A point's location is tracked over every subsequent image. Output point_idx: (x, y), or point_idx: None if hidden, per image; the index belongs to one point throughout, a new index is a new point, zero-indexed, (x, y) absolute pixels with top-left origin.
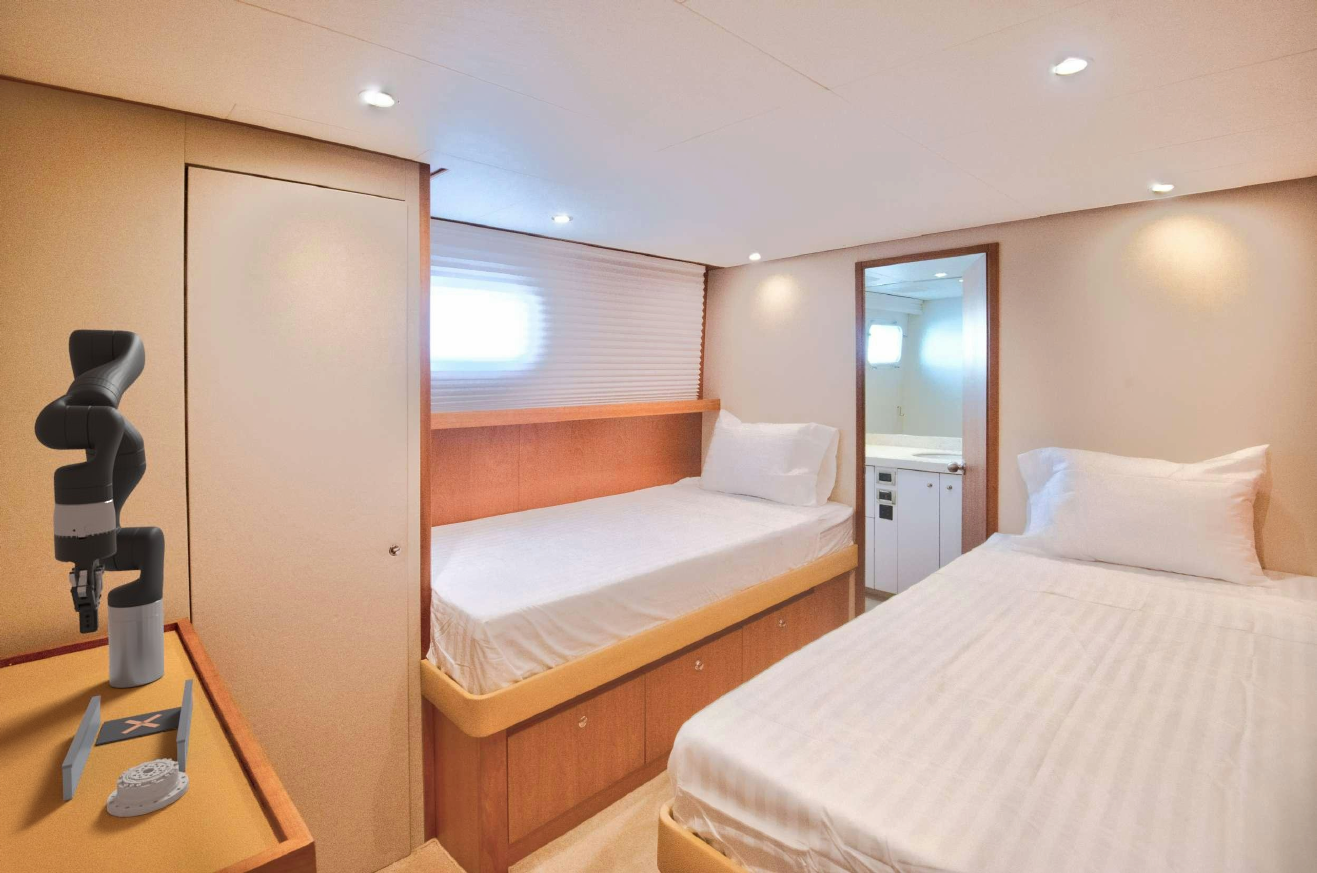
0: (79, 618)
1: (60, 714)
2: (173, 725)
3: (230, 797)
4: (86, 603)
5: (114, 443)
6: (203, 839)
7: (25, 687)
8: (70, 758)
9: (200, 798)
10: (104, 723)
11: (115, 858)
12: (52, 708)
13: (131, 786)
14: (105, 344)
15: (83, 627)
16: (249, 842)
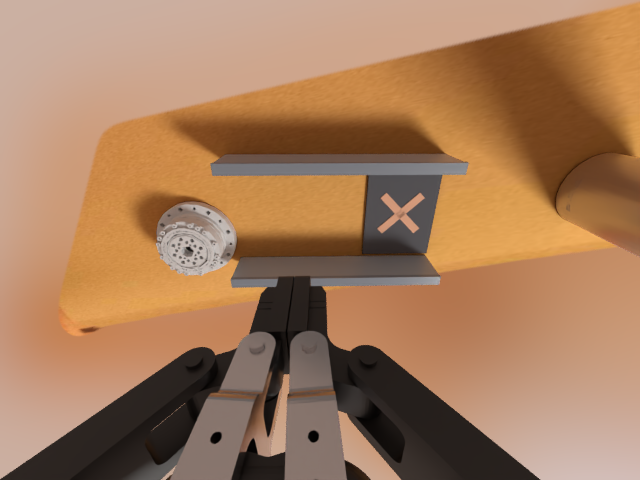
0: (272, 311)
1: (530, 98)
2: (370, 246)
3: (168, 299)
4: (191, 408)
5: None
6: (99, 282)
7: None
8: (233, 170)
9: (176, 277)
10: None
11: (85, 220)
12: (571, 79)
13: (157, 238)
14: None
15: (260, 299)
16: (85, 311)
